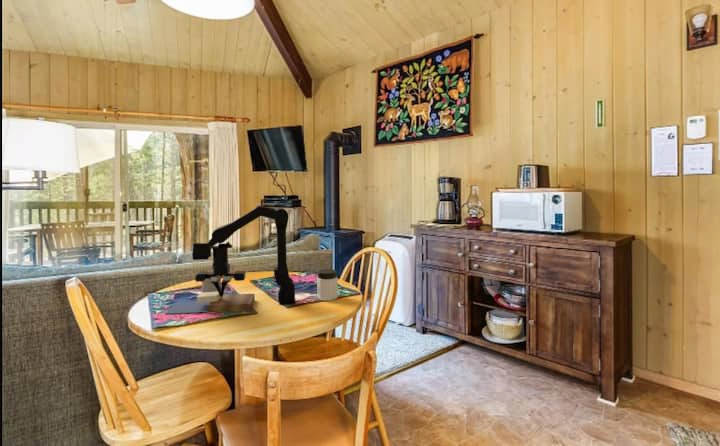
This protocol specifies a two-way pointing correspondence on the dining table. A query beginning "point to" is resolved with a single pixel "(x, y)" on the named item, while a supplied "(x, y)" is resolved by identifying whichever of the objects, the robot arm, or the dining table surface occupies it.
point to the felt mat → (188, 307)
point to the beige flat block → (208, 297)
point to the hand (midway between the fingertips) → (221, 296)
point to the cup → (208, 285)
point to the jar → (327, 284)
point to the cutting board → (232, 303)
